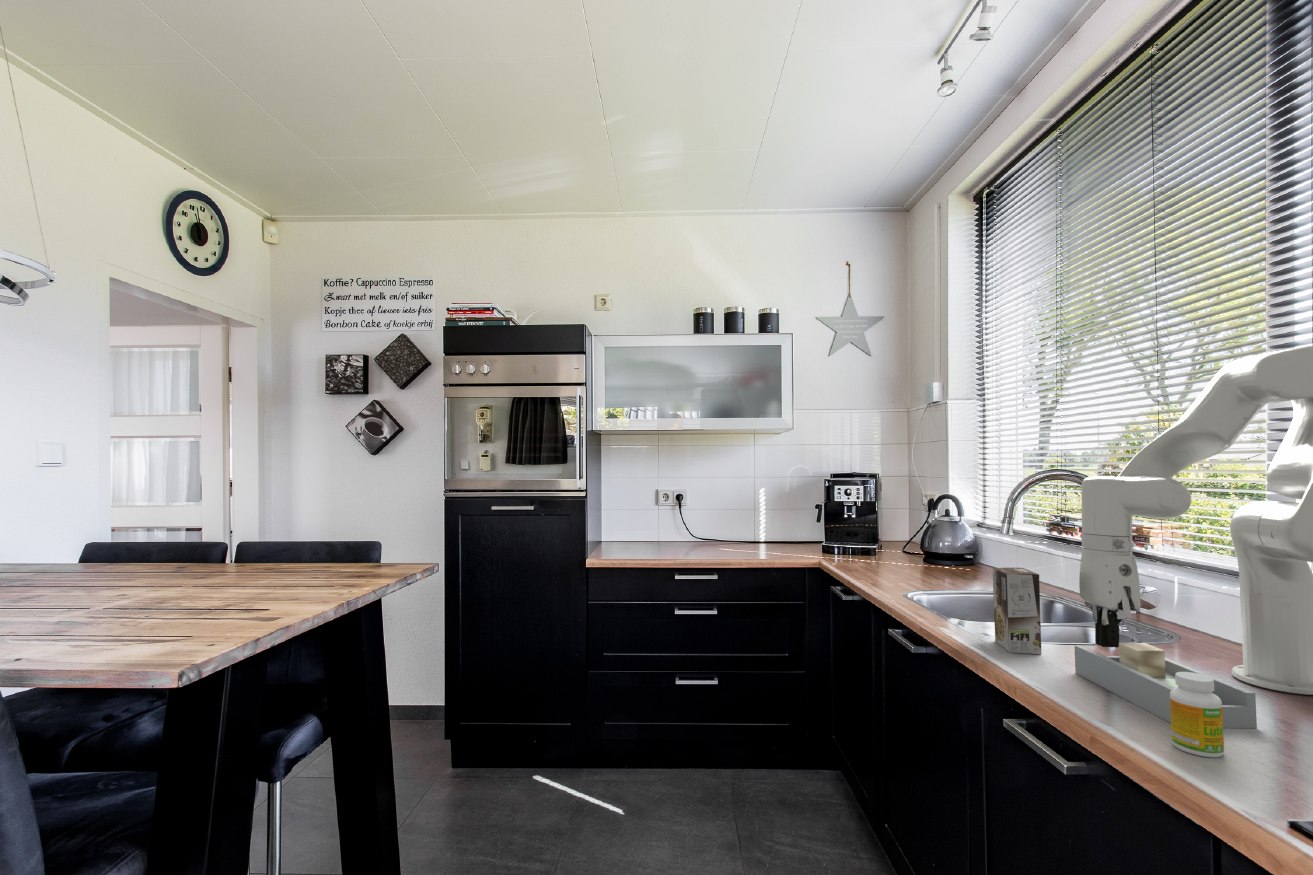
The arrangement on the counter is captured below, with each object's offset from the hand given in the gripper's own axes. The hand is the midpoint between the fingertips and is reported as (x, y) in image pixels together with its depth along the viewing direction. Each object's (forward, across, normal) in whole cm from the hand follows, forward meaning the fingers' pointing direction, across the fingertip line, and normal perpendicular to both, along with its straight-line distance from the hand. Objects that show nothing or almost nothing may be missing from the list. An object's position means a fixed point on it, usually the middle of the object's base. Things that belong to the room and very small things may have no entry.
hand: (1107, 645), depth 114 cm
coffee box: (+6, +18, +7) cm, 20 cm away
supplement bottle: (+6, -29, +8) cm, 31 cm away
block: (+2, -8, -1) cm, 8 cm away
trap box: (+5, -10, -1) cm, 12 cm away
